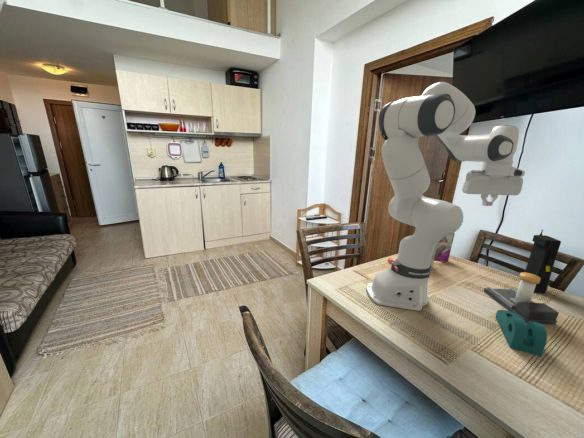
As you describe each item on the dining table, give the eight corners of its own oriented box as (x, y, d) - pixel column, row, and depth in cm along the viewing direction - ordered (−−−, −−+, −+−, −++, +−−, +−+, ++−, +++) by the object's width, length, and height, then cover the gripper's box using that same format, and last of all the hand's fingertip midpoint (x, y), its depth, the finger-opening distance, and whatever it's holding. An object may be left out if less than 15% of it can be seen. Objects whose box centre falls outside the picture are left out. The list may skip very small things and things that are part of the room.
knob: (507, 300, 89) (516, 271, 86) (522, 301, 89) (531, 272, 86) (519, 309, 84) (529, 279, 81) (534, 310, 84) (545, 279, 81)
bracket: (540, 357, 67) (549, 333, 64) (509, 348, 70) (517, 325, 67) (517, 319, 82) (524, 299, 80) (493, 313, 85) (498, 293, 83)
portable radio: (549, 295, 97) (569, 236, 90) (531, 293, 98) (551, 235, 91) (534, 284, 104) (552, 230, 97) (518, 283, 105) (535, 228, 99)
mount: (483, 291, 98) (486, 281, 97) (508, 292, 98) (512, 282, 96) (524, 323, 80) (528, 311, 79) (556, 324, 79) (560, 312, 78)
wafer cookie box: (424, 260, 126) (430, 230, 122) (422, 256, 131) (427, 227, 126) (448, 262, 124) (455, 232, 119) (445, 258, 128) (451, 229, 124)
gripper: (473, 170, 90) (465, 206, 94) (529, 172, 90) (519, 208, 93) (462, 169, 97) (455, 203, 100) (515, 170, 96) (506, 204, 99)
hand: (486, 205), depth 97 cm, fingers closed
